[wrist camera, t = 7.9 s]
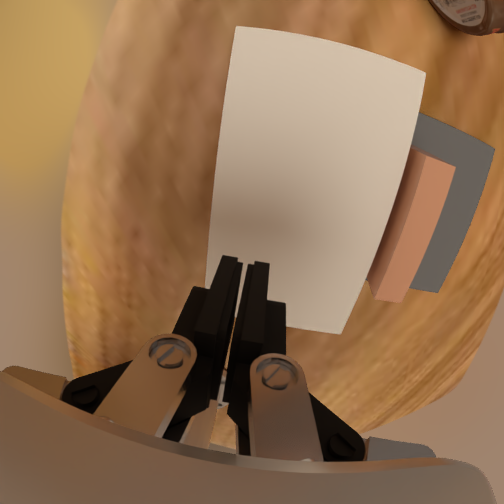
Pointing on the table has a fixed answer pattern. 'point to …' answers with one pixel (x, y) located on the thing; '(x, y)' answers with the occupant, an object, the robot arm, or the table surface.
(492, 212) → the table surface
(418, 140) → the mat
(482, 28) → the tin
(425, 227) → the tile
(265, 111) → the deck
